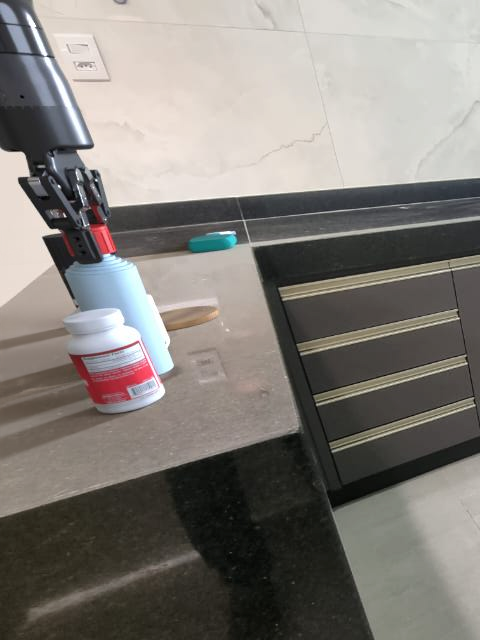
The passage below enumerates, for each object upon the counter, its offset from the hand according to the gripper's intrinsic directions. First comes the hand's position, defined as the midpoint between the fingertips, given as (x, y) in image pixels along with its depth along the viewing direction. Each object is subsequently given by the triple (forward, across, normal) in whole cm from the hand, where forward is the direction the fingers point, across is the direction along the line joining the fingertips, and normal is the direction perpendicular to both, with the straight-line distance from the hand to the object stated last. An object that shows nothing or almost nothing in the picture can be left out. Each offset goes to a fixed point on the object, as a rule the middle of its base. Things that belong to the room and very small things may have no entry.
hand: (99, 259), depth 65 cm
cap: (-1, 0, 0) cm, 1 cm away
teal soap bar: (+16, +109, +12) cm, 111 cm away
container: (+16, +9, +4) cm, 18 cm away
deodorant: (+16, +31, +14) cm, 38 cm away
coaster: (+15, +25, +2) cm, 29 cm away
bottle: (+15, 0, +1) cm, 15 cm away
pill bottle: (+15, -10, -1) cm, 19 cm away
